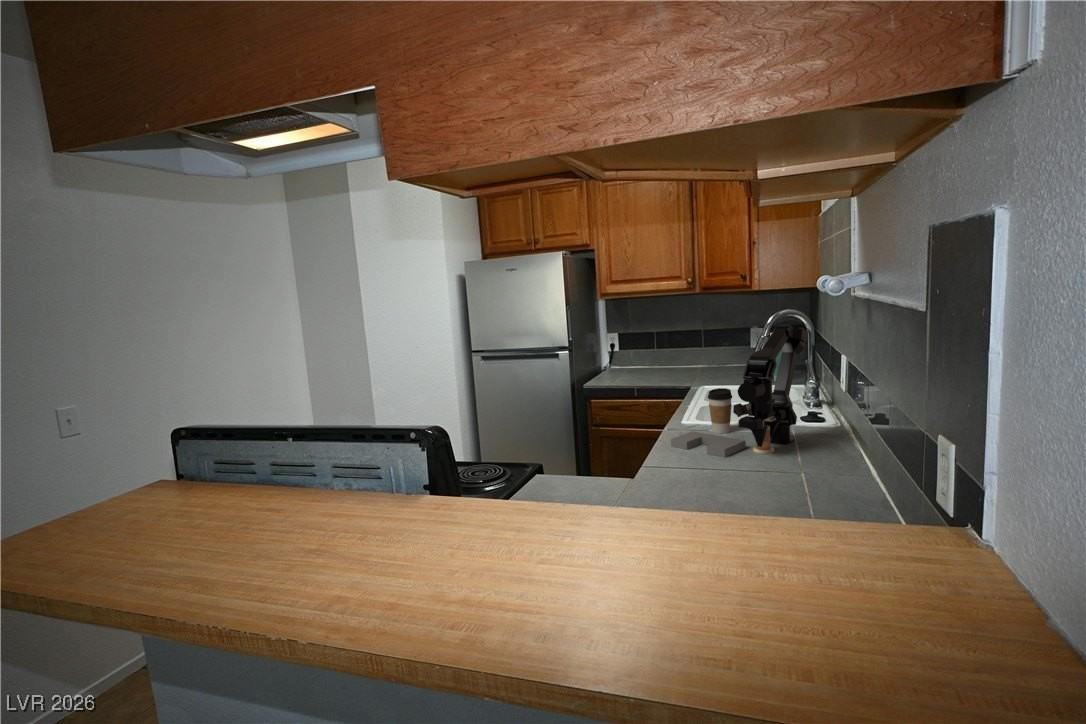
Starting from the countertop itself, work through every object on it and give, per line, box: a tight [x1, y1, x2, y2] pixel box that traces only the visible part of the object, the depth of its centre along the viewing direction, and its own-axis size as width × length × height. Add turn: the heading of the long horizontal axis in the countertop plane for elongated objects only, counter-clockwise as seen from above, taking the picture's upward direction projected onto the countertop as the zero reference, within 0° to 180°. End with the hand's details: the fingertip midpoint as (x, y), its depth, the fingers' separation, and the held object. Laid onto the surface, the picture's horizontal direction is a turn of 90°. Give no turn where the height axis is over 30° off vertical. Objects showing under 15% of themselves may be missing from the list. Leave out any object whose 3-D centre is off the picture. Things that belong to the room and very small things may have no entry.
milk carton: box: [769, 331, 782, 383], centre depth 285 cm, size 9×9×25 cm
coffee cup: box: [707, 387, 733, 435], centre depth 198 cm, size 8×8×15 cm
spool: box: [752, 425, 775, 455], centre depth 172 cm, size 6×6×8 cm
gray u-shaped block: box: [670, 431, 747, 458], centre depth 181 cm, size 12×20×2 cm, turn 40°
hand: (763, 445), depth 172 cm, fingers closed on spool, 4 cm apart
